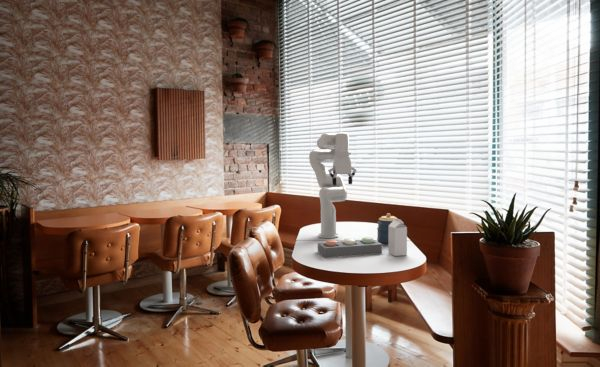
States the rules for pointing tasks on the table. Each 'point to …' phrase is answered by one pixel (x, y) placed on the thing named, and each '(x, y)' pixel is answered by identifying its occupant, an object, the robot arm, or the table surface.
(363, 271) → the table surface
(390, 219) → the canister
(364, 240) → the button sage
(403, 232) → the milk carton
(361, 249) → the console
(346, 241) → the button cream
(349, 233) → the table surface
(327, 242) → the button terracotta
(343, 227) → the table surface
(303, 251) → the table surface
